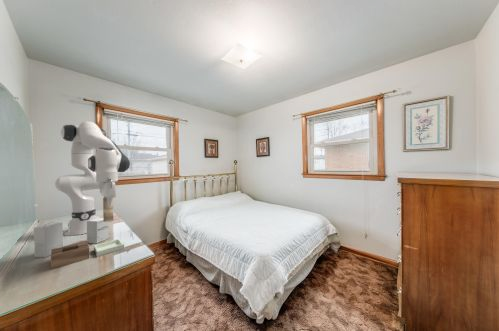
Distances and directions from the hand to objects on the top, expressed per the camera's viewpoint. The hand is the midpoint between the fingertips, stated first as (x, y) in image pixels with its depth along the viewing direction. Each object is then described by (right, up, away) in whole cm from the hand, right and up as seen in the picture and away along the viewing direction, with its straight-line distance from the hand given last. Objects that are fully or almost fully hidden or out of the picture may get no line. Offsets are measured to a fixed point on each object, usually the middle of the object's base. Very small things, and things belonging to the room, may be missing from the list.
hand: (108, 205), depth 92 cm
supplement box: (-15, -24, +12) cm, 31 cm away
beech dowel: (0, -8, 0) cm, 8 cm away
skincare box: (-28, -24, -3) cm, 37 cm away
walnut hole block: (-10, -23, -9) cm, 27 cm away
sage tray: (+1, -23, 0) cm, 23 cm away
